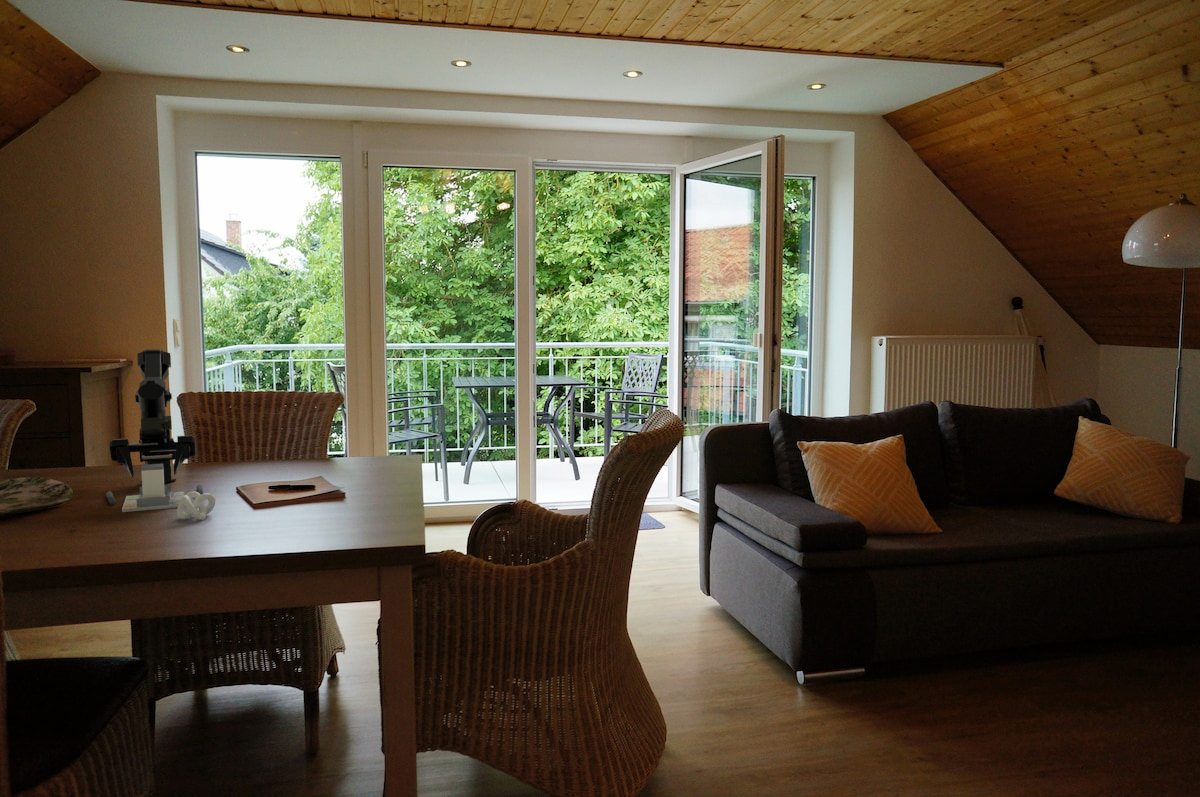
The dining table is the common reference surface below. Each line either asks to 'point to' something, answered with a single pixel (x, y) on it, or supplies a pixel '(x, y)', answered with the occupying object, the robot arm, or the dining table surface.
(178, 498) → the panel
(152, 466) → the grey upright block
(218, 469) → the dining table surface
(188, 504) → the knot
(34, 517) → the dining table surface
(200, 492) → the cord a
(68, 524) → the dining table surface
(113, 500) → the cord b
